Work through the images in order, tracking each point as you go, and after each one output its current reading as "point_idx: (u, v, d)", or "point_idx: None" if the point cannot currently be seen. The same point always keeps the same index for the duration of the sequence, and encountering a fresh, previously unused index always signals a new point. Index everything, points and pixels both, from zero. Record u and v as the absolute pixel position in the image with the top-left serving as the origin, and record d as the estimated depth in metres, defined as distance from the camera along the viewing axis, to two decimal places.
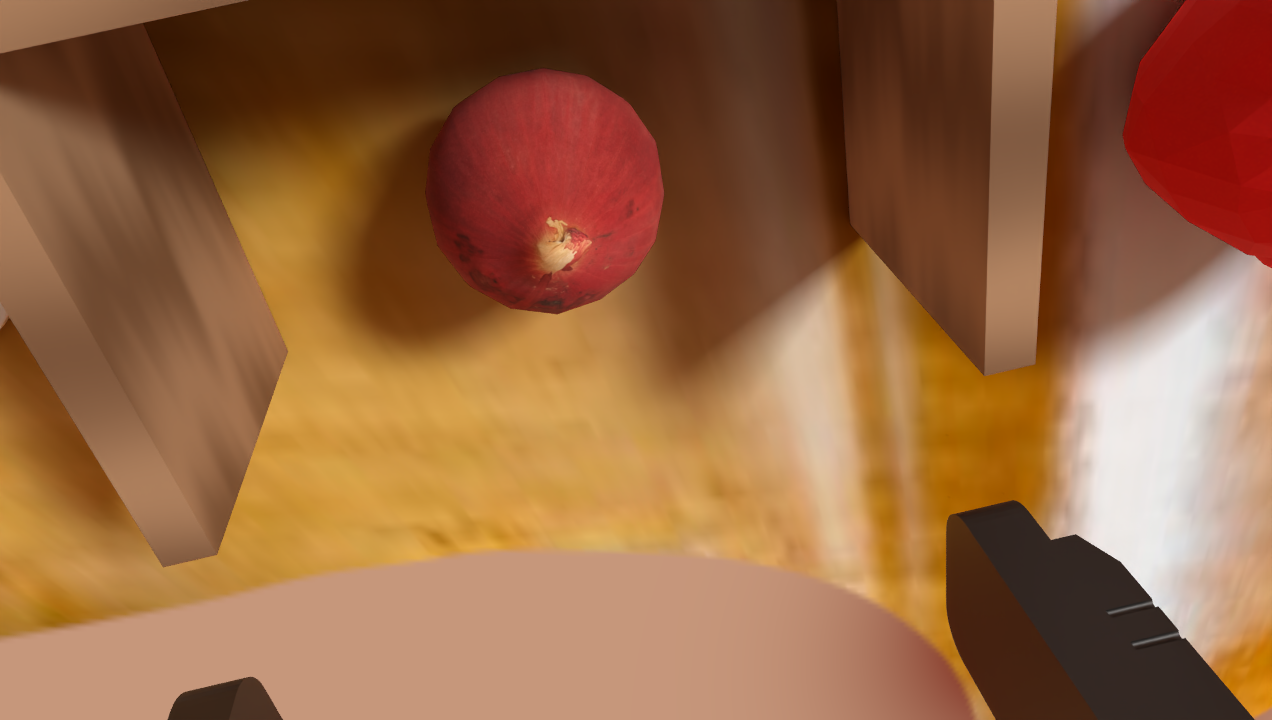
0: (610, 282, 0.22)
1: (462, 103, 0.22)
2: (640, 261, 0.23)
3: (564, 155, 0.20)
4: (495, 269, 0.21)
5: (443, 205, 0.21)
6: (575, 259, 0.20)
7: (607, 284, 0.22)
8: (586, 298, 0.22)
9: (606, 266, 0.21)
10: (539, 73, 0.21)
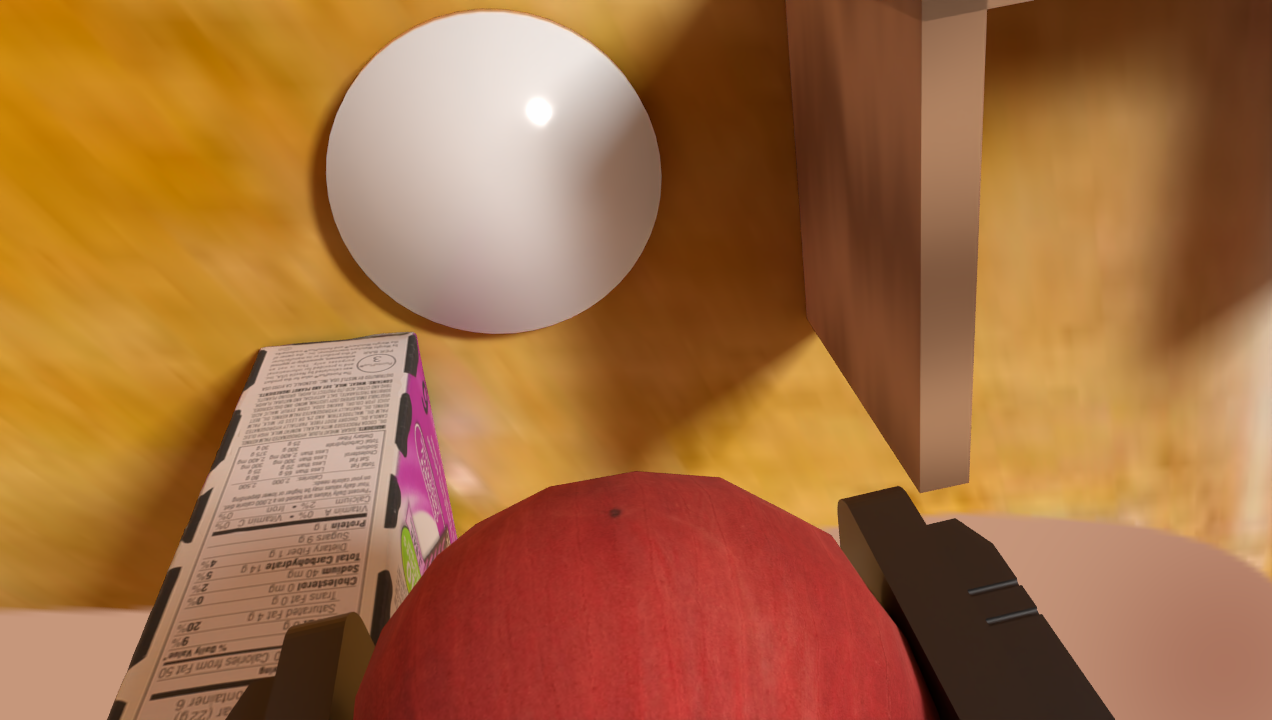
0: None
1: (436, 613, 0.08)
2: None
3: None
4: None
5: None
6: None
7: None
8: None
9: None
10: (643, 546, 0.08)
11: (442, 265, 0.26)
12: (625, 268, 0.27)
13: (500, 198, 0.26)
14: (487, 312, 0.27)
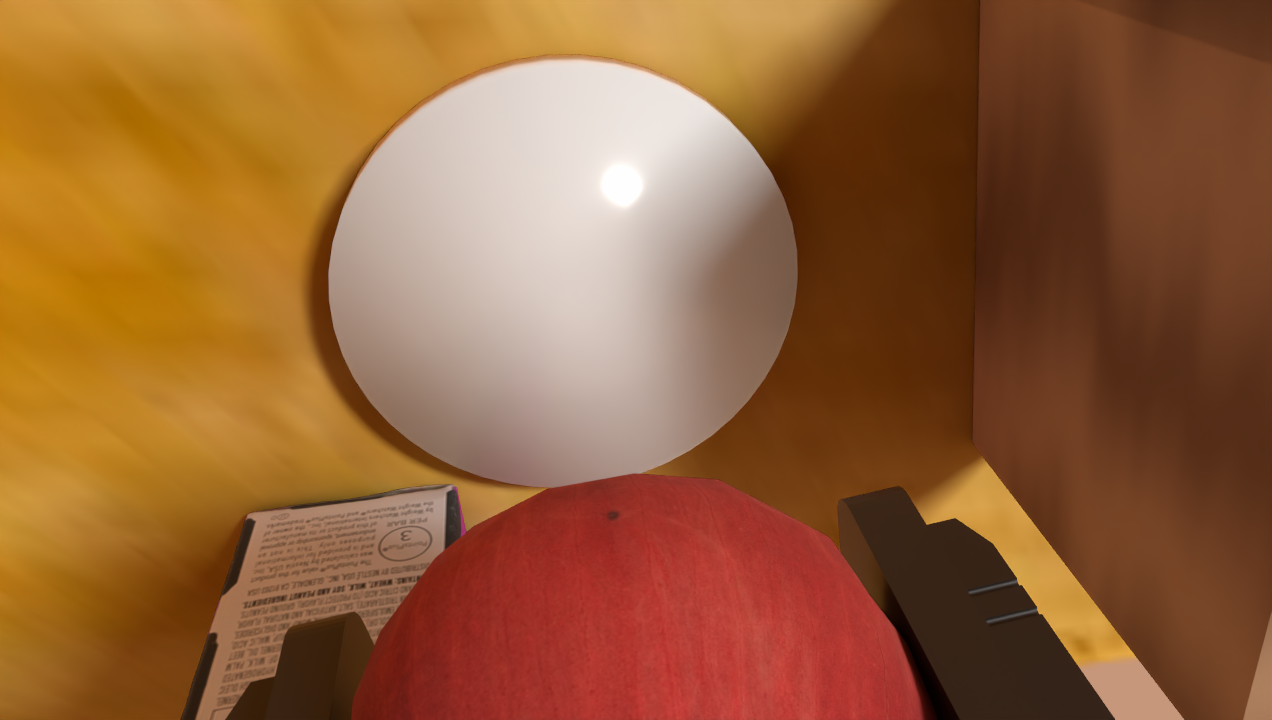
0: None
1: (434, 616, 0.08)
2: None
3: None
4: None
5: None
6: None
7: None
8: None
9: None
10: (641, 548, 0.08)
11: (493, 406, 0.19)
12: (742, 398, 0.20)
13: (573, 316, 0.18)
14: (554, 462, 0.20)
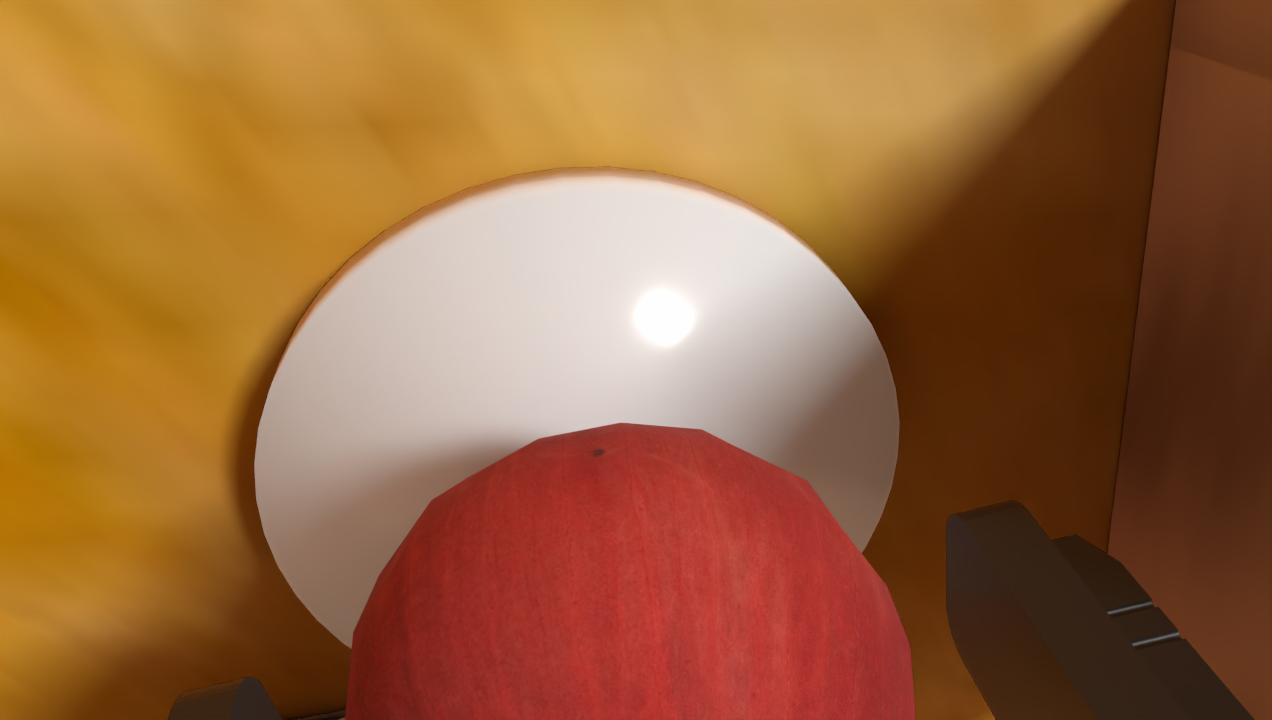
0: None
1: (429, 545, 0.09)
2: None
3: None
4: None
5: None
6: None
7: None
8: None
9: None
10: (624, 478, 0.08)
11: None
12: None
13: None
14: None
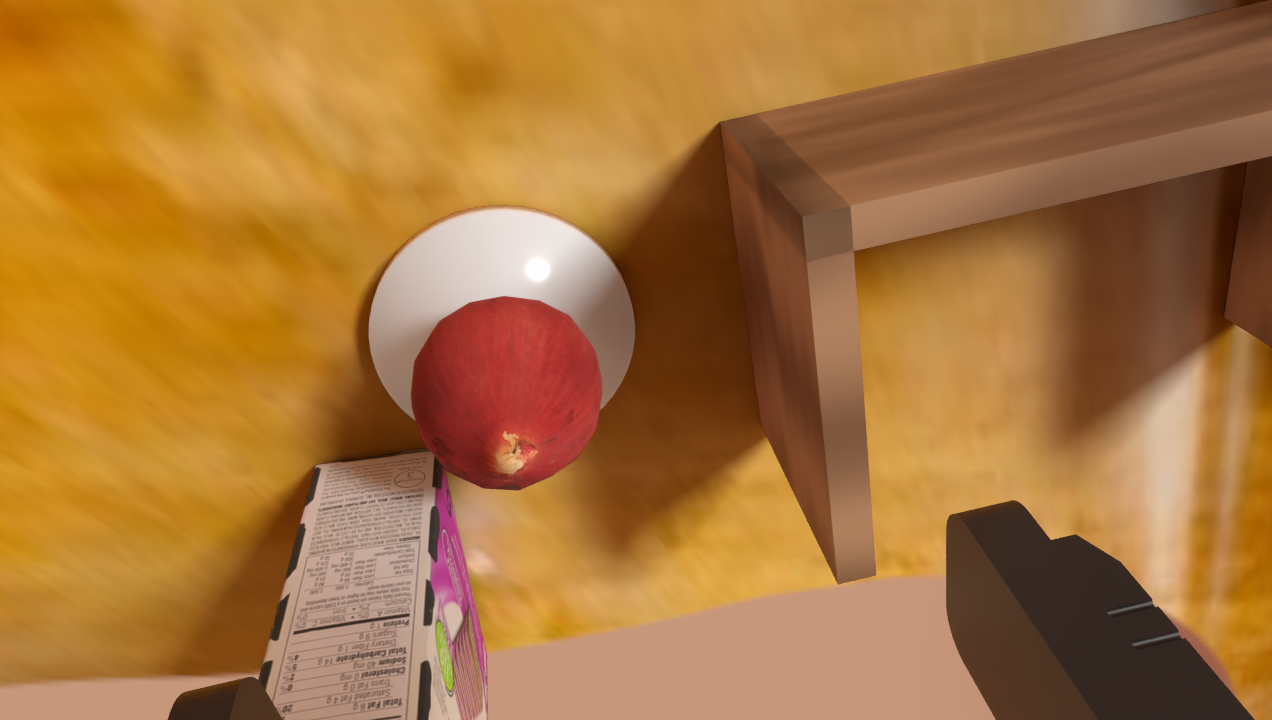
0: (557, 469, 0.27)
1: (439, 328, 0.27)
2: (583, 448, 0.28)
3: (517, 380, 0.26)
4: (464, 466, 0.26)
5: (423, 413, 0.27)
6: (524, 465, 0.25)
7: (555, 471, 0.27)
8: None
9: (552, 460, 0.27)
10: (500, 305, 0.27)
11: None
12: (608, 394, 0.34)
13: None
14: None
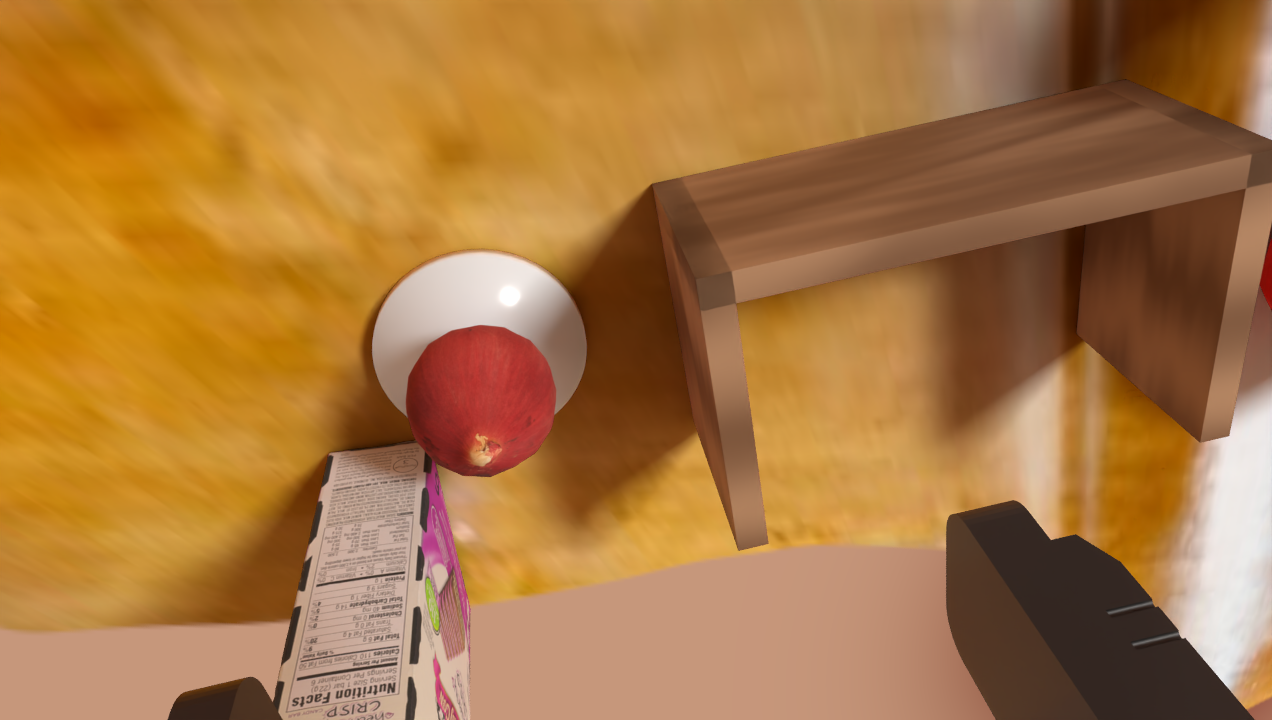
0: (519, 461, 0.35)
1: (427, 351, 0.35)
2: (540, 444, 0.36)
3: (487, 394, 0.34)
4: (447, 459, 0.34)
5: (415, 418, 0.35)
6: (492, 460, 0.33)
7: (517, 462, 0.35)
8: (505, 470, 0.36)
9: (514, 455, 0.34)
10: (474, 334, 0.35)
11: None
12: (566, 398, 0.41)
13: None
14: None
